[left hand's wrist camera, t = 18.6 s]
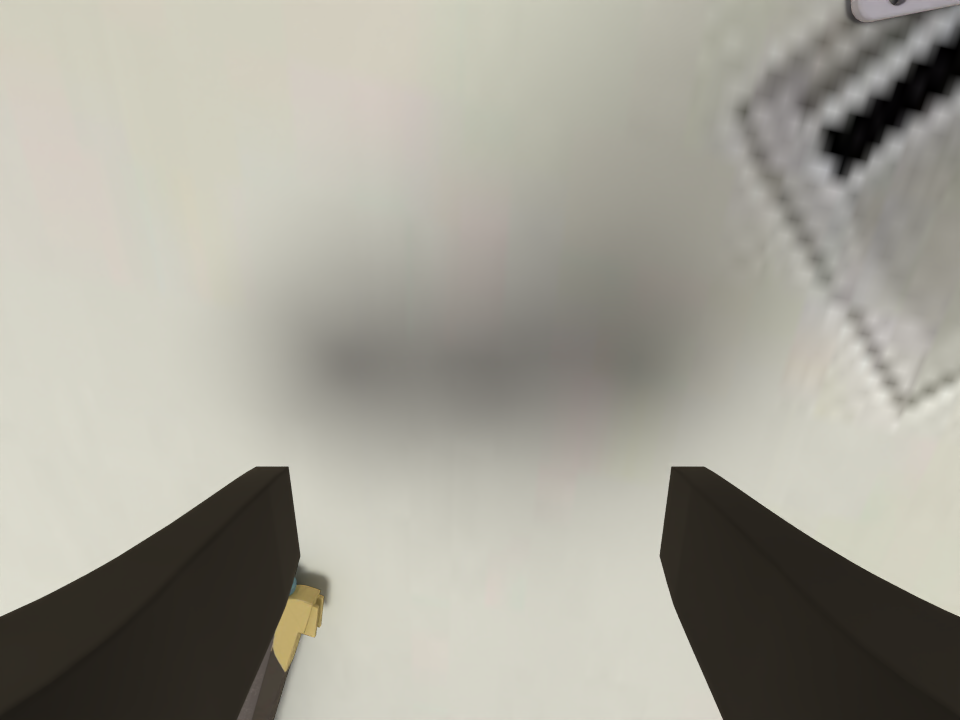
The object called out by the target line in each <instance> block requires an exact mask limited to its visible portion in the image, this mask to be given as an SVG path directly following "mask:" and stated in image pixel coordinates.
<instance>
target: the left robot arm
mask: <svg viewBox="0 0 960 720" xmlns="http://www.w3.org/2000/svg"><path fill="white" fill-rule="evenodd" d="M959 4H960V0H898V2H897V3H896V4H895V5H893V4H891V3H890V1H889V0H851V9H852V13H853V15H854V16H855V18H856V19H858V20H859V21H861V22H873V21H878V20H883V19H888V18H893V17H899V16H904V15H909V14H914V13H919V12H924V11H929V10H934V9H939V8H944V7H949V6H954V5H959ZM299 559H300V549H299V542H298V534H297V527H296V519H295V512H294V504H293V497H292V489H291V482H290V474H289V467H255V468H253V469H251V470H250V471H248V472H246V473H245V474H243V475H242V476H240V477H238V478H237V479H235V480H234V481H232V482H231V483H230V484H228V485H227V486H225V487H224V488H222V489H221V490H219V491H218V492H216V493H215V494H214V495H212V496H211V497H209V498H208V499H206V500H205V501H203V502H202V503H200V504H199V505H198V506H196V507H195V508H193V509H192V510H190V511H189V512H187V513H186V514H184V515H183V516H181V517H180V518H178V519H177V520H175V521H174V522H172V523H171V524H169V525H168V526H166V527H165V528H163V529H161V530H160V531H158V532H157V533H155V534H154V535H152V536H150V537H149V538H147V539H146V540H144V541H142V542H141V543H139V544H138V545H136V546H134V547H133V548H131V549H130V550H128V551H126V552H125V553H123V554H122V555H120V556H118V557H117V558H115V559H113V560H111V561H110V562H108V563H106V564H105V565H103V566H101V567H99V568H97V569H96V570H94V571H92V572H90V573H88V574H87V575H85V576H83V577H81V578H79V579H77V580H75V581H73V582H71V583H70V584H68V585H66V586H64V587H62V588H60V589H58V590H56V591H54V592H52V593H50V594H48V595H46V596H44V597H42V598H40V599H38V600H36V601H34V602H32V603H29V604H27V605H25V606H23V607H21V608H18V609H16V610H14V611H12V612H10V613H8V614H5V615H3V616H1V617H0V720H237V718H238V716H239V714H240V711H241V709H242V707H243V704H244V702H245V700H246V698H247V695H248V693H249V691H250V688H251V686H252V684H253V681H254V679H255V677H256V675H257V672H258V670H259V668H260V665H261V663H262V661H263V659H264V656H265V654H266V652H267V649H268V647H269V645H270V643H271V640H272V638H273V636H274V633H275V631H276V629H277V626H278V624H279V622H280V619H281V617H282V614H283V612H284V610H285V607H286V605H287V601H288V598H289V595H290V591H291V588H292V585H293V581H294V577H295V574H296V570H297V566H298V563H299ZM660 559H661V563H662V566H663V570H664V574H665V577H666V581H667V585H668V588H669V591H670V595H671V598H672V601H673V605H674V607H675V610H676V612H677V614H678V617H679V619H680V622H681V624H682V626H683V629H684V631H685V633H686V636H687V638H688V640H689V643H690V645H691V647H692V649H693V652H694V654H695V656H696V659H697V661H698V663H699V665H700V668H701V670H702V672H703V675H704V677H705V679H706V681H707V684H708V686H709V688H710V691H711V693H712V695H713V698H714V700H715V702H716V704H717V707H718V709H719V711H720V714H721V716H722V718H723V720H960V617H959V616H957V615H954V614H952V613H950V612H948V611H945V610H943V609H941V608H939V607H937V606H935V605H933V604H931V603H929V602H927V601H924V600H922V599H920V598H918V597H916V596H914V595H912V594H910V593H909V592H907V591H905V590H903V589H901V588H899V587H897V586H895V585H893V584H891V583H889V582H887V581H885V580H884V579H882V578H880V577H878V576H876V575H874V574H872V573H870V572H868V571H867V570H865V569H863V568H861V567H860V566H858V565H856V564H854V563H852V562H851V561H849V560H847V559H846V558H844V557H842V556H841V555H839V554H837V553H836V552H834V551H832V550H831V549H829V548H827V547H826V546H824V545H822V544H821V543H819V542H817V541H816V540H814V539H813V538H811V537H810V536H808V535H806V534H805V533H803V532H802V531H800V530H799V529H797V528H796V527H794V526H793V525H791V524H789V523H788V522H786V521H785V520H783V519H782V518H780V517H779V516H777V515H776V514H775V513H773V512H772V511H770V510H769V509H767V508H766V507H764V506H763V505H761V504H760V503H758V502H757V501H755V500H754V499H753V498H751V497H750V496H748V495H747V494H745V493H744V492H742V491H741V490H740V489H738V488H737V487H735V486H734V485H732V484H731V483H729V482H728V481H726V480H725V479H723V478H722V477H720V476H719V475H717V474H716V473H714V472H712V471H711V470H709V469H707V468H706V467H671V474H670V482H669V489H668V497H667V504H666V512H665V519H664V527H663V534H662V542H661V549H660Z"/></svg>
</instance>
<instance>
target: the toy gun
mask: <svg viewBox="0 0 960 720" xmlns="http://www.w3.org/2000/svg"><path fill="white" fill-rule="evenodd" d="M323 602H324V596H322V595H320V590H318V589H315V588H313V587H310V586H306V585H297V582H296V578H295V577H294V581H293V585H292V588H291V591H290V595H289V598H288V601H287V605H286V607H285V610H284V612H283V614H282V617H281V619H280V622H279V624H278V626H277V629H276V631H275V633H274V636H273V638H272V640H271V643H270V645H269V647H268V649H267V652H266V654H265V656H264V659H263V661H262V663H261V665H260V668H259V670H258V672H257V675H256V677H255V679H254V681H253V684H252V686H251V688H250V691H249V693H248V695H247V698H246V700H245V702H244V704H243V707H242V709H241V711H240V714H239V716H238V718H237V720H274V717H275V714H276V710H277V707H278V704H279V700H280V697H281V693H282V690H283V687H284V683H285V680H286V677H287V674H288V671H289V667H290V664H291V662H292V660H293V657H294V655H295V652H296V649H297V646H298V642H299V639H300V636H301V633H302V634H305V635H308V636H311V637H315V636H316V630H317V627H319V628H320V626H321V621H322V611H323Z"/></svg>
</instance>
